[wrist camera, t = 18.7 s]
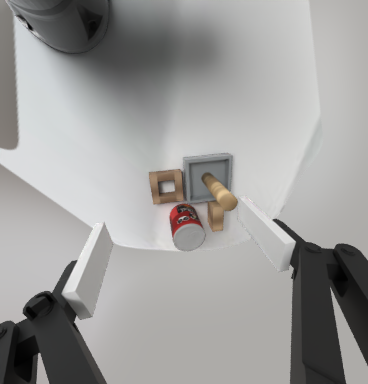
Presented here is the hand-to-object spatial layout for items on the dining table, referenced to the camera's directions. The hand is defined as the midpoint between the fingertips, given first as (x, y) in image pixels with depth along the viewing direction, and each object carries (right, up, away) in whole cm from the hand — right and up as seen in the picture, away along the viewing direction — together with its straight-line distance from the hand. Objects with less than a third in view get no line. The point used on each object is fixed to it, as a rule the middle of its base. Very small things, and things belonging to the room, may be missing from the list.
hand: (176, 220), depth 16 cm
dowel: (+7, +7, +29) cm, 31 cm away
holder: (-4, +5, +29) cm, 29 cm away
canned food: (0, -4, +33) cm, 34 cm away
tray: (+7, +7, +30) cm, 31 cm away
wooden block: (+9, -3, +34) cm, 36 cm away
